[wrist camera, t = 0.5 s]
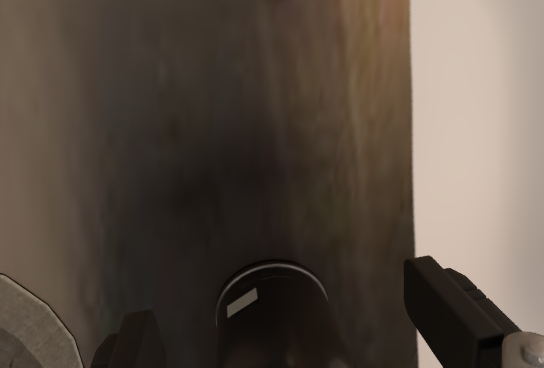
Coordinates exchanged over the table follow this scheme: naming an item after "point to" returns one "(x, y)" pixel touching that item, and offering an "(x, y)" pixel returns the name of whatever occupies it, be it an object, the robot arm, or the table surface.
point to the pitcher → (32, 332)
